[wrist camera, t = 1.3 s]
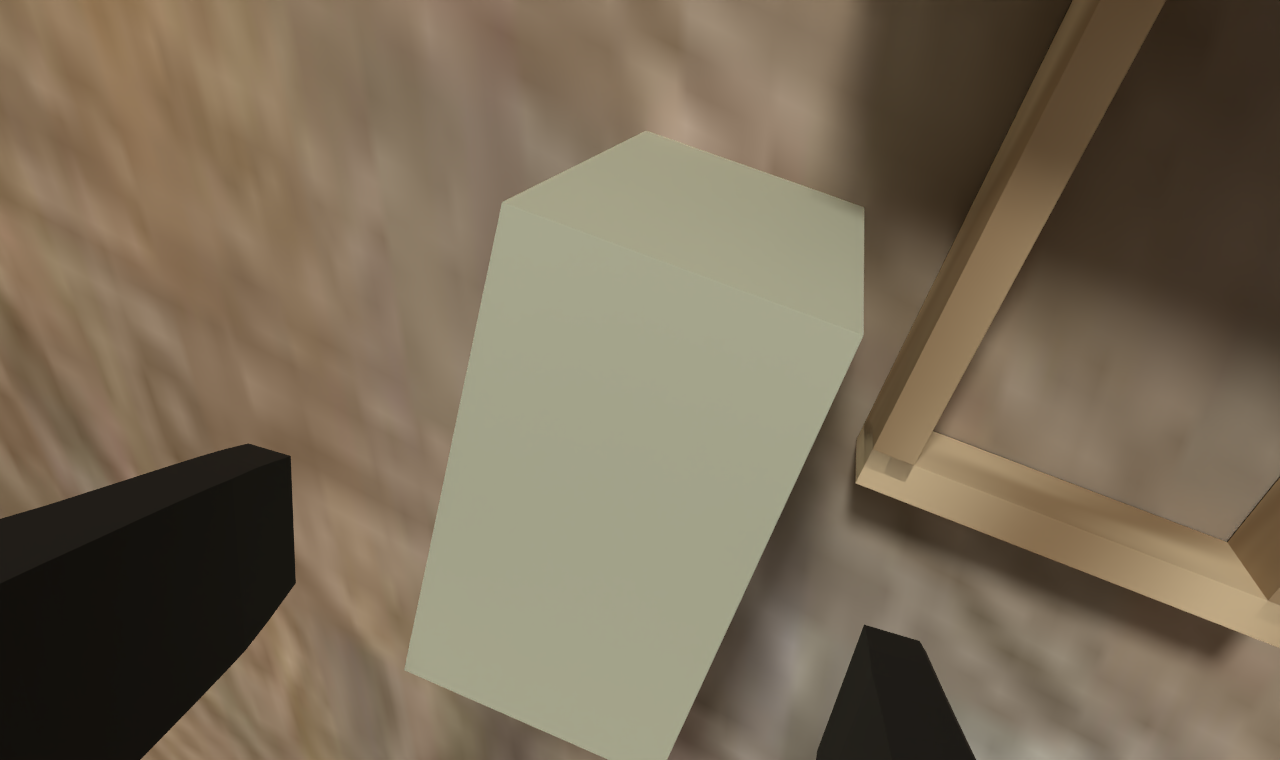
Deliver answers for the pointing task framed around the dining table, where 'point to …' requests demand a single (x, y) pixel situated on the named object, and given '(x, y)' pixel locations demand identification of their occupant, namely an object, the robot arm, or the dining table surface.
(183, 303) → the dining table surface
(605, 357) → the cabinet block
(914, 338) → the wall board
